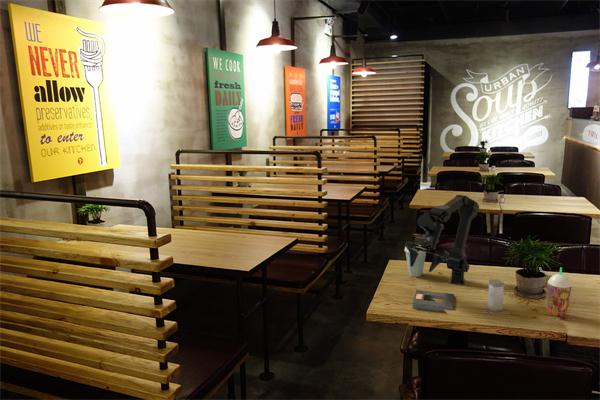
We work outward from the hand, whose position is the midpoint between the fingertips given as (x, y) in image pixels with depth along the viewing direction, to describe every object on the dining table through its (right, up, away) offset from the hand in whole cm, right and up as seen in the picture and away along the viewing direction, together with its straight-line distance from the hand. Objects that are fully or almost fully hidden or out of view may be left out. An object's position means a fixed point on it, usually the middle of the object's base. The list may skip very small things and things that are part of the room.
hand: (420, 269), depth 200 cm
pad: (+28, -16, -9) cm, 33 cm away
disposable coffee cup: (+6, -8, +34) cm, 35 cm away
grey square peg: (+28, -15, -9) cm, 33 cm away
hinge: (+61, -9, +23) cm, 65 cm away
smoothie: (+51, -17, -13) cm, 55 cm away
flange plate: (+6, -15, +1) cm, 16 cm away
